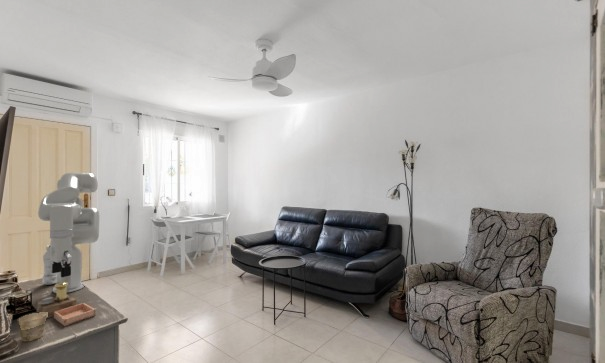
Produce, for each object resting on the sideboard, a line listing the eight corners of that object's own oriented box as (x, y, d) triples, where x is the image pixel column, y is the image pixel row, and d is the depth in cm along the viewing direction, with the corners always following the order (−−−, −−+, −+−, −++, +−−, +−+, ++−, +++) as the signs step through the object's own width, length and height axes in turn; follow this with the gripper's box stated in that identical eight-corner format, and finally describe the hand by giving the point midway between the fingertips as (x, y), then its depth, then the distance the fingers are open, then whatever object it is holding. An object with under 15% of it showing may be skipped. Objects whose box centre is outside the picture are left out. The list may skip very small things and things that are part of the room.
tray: (53, 318, 112) (53, 311, 112) (83, 308, 121) (83, 302, 121) (64, 326, 106) (64, 319, 106) (95, 315, 115) (95, 309, 115)
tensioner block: (37, 312, 117) (37, 298, 117) (67, 303, 125) (67, 290, 125) (45, 318, 112) (45, 304, 111) (76, 309, 120) (76, 295, 120)
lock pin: (53, 309, 119) (53, 283, 119) (65, 306, 123) (65, 280, 122) (57, 312, 117) (57, 286, 117) (69, 308, 120) (69, 283, 120)
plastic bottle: (49, 281, 150) (49, 244, 150) (62, 281, 150) (62, 244, 150) (38, 286, 143) (38, 247, 143) (52, 286, 144) (53, 247, 144)
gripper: (43, 233, 121) (42, 273, 120) (58, 237, 111) (57, 280, 111) (64, 230, 127) (64, 268, 127) (80, 234, 118) (80, 275, 118)
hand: (61, 274), depth 119 cm, fingers open, 9 cm apart
